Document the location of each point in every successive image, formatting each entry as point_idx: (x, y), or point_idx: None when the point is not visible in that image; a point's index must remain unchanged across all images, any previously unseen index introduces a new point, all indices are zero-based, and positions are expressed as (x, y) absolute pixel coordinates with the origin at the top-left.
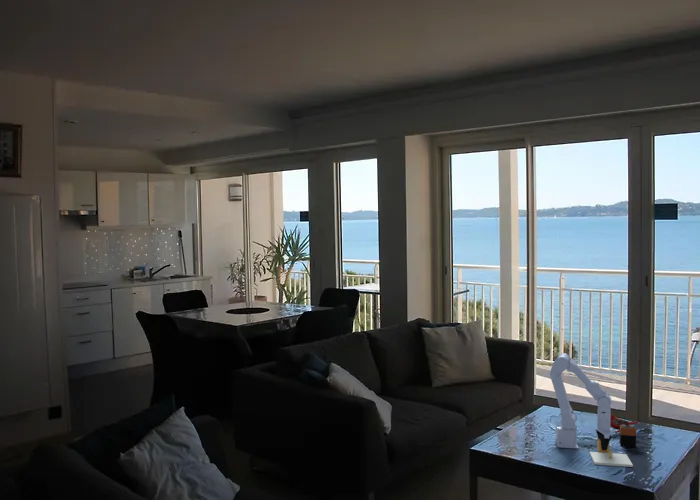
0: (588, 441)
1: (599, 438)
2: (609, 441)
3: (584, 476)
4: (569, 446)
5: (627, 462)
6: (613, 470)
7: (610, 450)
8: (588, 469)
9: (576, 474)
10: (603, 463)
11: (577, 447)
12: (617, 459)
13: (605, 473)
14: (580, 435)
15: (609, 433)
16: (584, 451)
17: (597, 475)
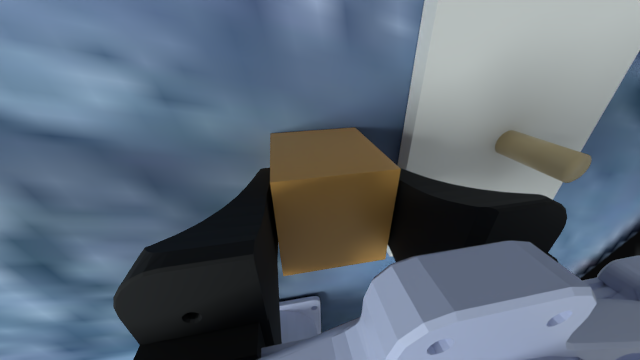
0: (134, 255)
1: (281, 260)
2: (464, 187)
3: (604, 256)
4: (317, 332)
5: (627, 6)
6: (622, 140)
7: (573, 171)
8: (558, 246)
9: (578, 277)
10: (551, 190)
11: (314, 303)
12: (543, 91)
13: (627, 184)
14: (9, 304)
15: (632, 303)
16: (349, 267)
17: (623, 216)
